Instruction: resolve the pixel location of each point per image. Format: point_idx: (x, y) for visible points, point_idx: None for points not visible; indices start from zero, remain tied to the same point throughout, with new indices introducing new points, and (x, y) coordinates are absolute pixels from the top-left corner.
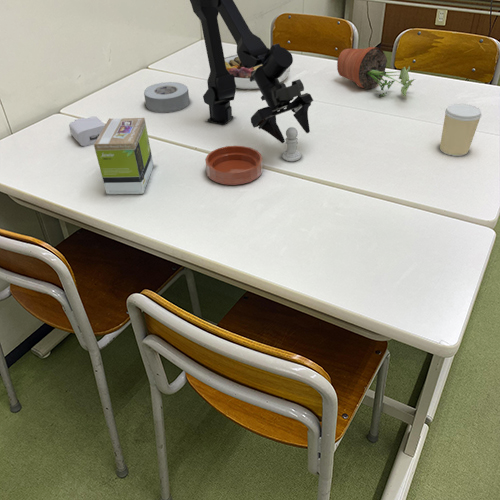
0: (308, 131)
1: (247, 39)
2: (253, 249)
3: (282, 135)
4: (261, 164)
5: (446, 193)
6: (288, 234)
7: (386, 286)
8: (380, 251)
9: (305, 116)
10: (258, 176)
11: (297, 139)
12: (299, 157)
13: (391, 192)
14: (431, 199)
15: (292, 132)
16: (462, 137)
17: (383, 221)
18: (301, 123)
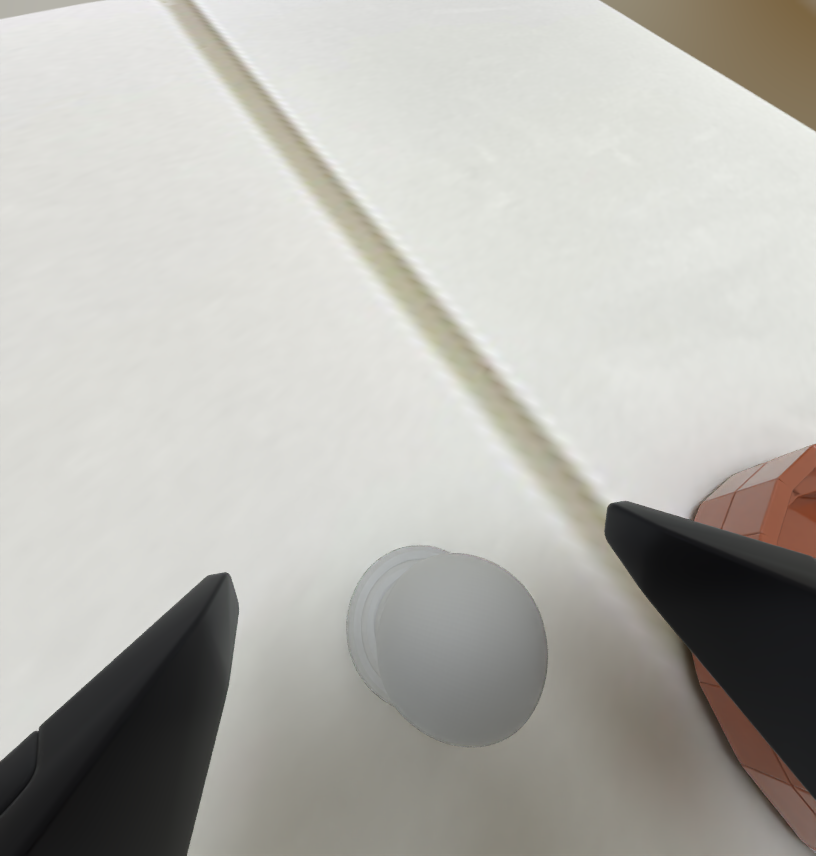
0: (228, 576)
1: None
2: (786, 167)
3: (672, 528)
4: (748, 499)
5: (96, 74)
6: (675, 164)
7: (530, 11)
8: (478, 49)
9: (23, 803)
10: (724, 482)
11: (393, 585)
12: (389, 553)
13: (237, 145)
14: (170, 79)
15: (494, 568)
16: None
17: (389, 90)
18: (178, 805)
